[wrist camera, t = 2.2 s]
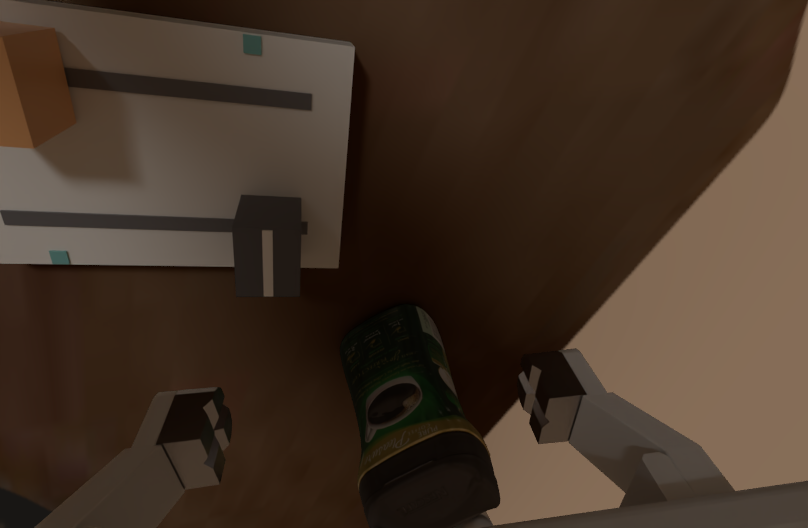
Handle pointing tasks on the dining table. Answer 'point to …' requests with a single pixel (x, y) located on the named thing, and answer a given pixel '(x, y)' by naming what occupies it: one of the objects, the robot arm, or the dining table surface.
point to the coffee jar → (413, 427)
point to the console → (176, 140)
